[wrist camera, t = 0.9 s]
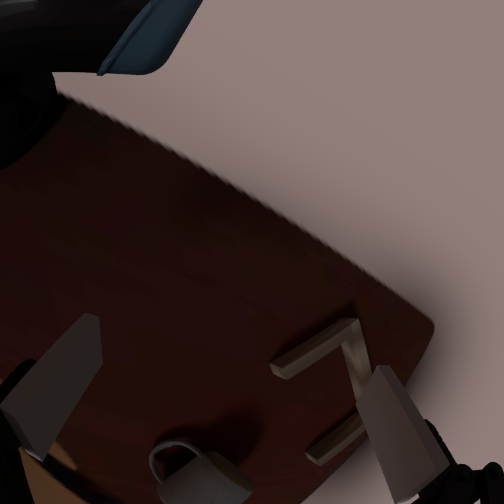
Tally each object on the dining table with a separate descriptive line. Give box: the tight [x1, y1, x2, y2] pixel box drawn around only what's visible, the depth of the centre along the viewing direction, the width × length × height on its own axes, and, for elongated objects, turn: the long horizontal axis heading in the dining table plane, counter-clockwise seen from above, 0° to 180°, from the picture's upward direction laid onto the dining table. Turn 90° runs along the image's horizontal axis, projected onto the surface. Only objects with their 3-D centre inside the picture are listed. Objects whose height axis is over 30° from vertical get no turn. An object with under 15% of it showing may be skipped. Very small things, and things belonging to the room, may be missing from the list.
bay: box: [269, 318, 372, 466], centre depth 31 cm, size 17×12×3 cm
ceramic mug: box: [149, 439, 254, 504], centre depth 20 cm, size 11×8×8 cm
